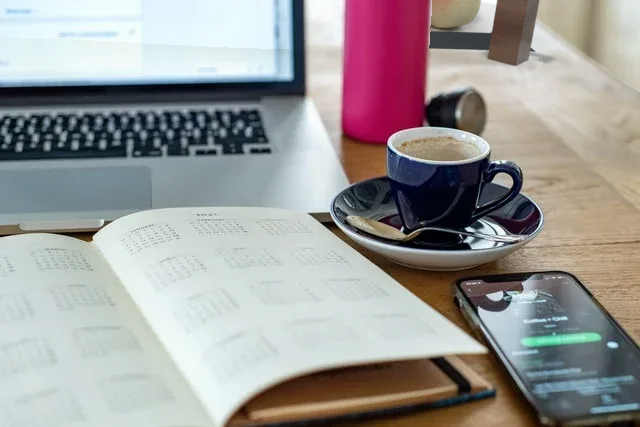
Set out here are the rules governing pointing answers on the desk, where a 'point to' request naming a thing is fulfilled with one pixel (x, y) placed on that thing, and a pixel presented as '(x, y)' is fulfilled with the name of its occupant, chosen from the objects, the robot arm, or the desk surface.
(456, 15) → the apple
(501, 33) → the shelf stand
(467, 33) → the mat
